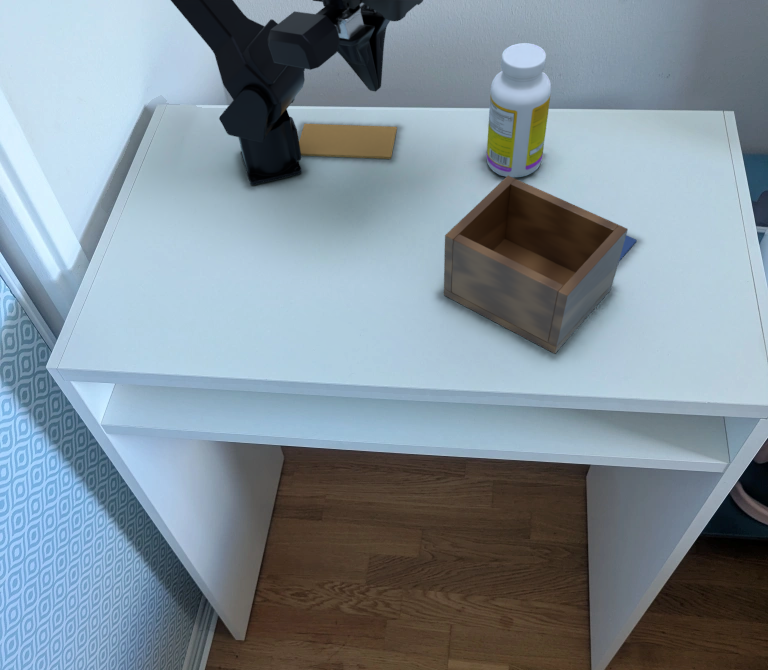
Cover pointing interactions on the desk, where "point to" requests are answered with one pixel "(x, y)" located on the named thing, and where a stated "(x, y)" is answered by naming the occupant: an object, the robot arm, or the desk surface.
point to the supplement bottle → (518, 111)
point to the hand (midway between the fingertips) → (375, 89)
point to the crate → (531, 262)
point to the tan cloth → (347, 141)
